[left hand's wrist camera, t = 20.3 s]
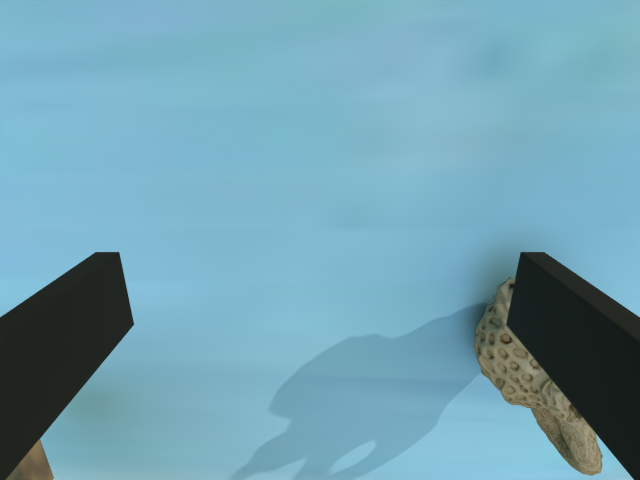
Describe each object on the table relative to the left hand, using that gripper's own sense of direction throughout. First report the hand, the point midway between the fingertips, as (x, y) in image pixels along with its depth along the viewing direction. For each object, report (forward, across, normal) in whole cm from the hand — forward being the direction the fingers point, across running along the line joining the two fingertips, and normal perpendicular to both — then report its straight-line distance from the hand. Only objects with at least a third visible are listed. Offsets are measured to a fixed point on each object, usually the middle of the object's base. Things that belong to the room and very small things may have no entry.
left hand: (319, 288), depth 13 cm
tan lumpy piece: (+27, -23, +19) cm, 41 cm away
